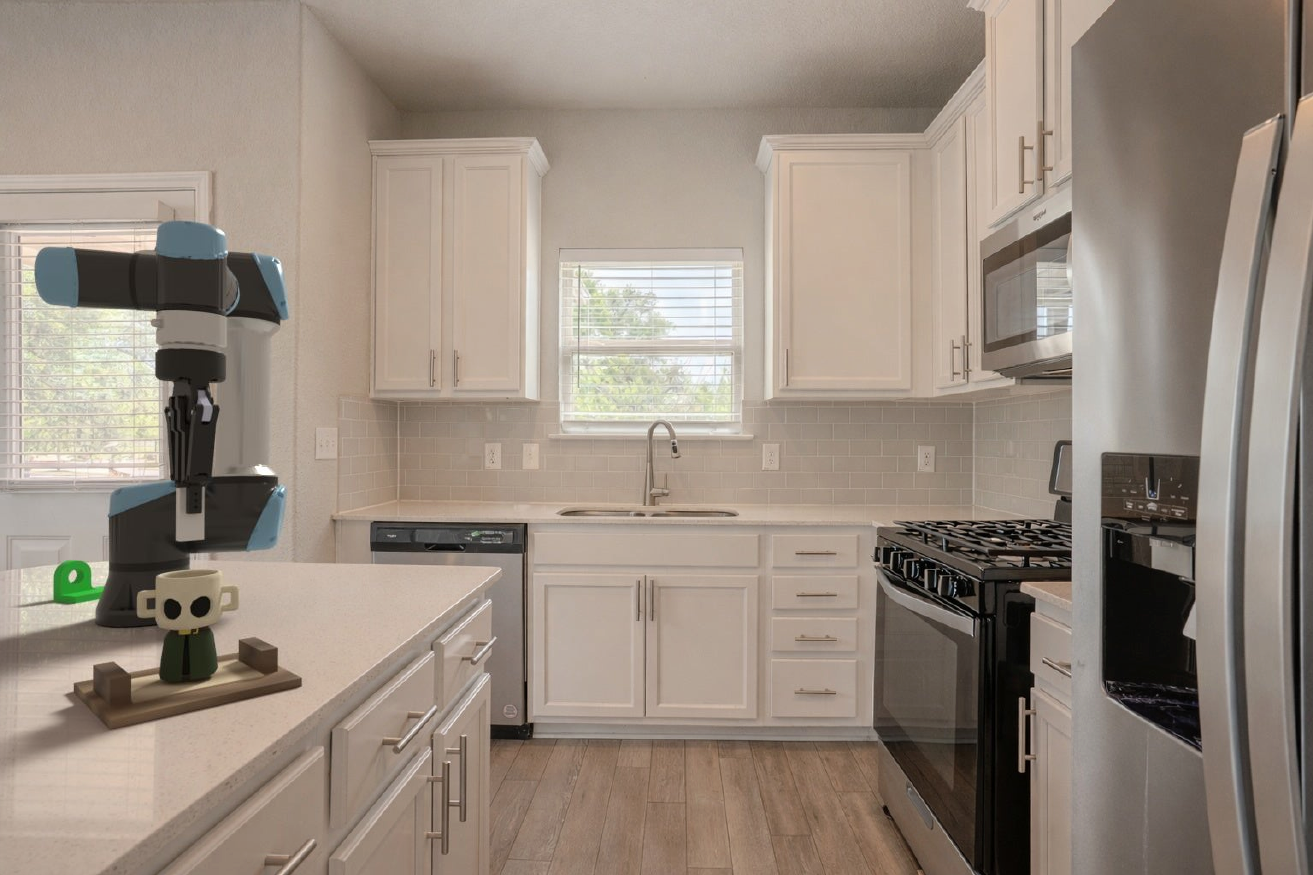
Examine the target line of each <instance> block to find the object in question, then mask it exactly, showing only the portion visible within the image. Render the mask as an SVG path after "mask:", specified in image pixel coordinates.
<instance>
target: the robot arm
mask: <svg viewBox="0 0 1313 875" xmlns="http://www.w3.org/2000/svg"><path fill="white" fill-rule="evenodd" d="M156 229H157V230H156V231H157V232H156V241H155V247H154V249H142V250H137V251H133V252H124V251H113V250H104V249H103V250H102V249H89V248H78V247H73V246H66V247H65V246H64V247H63V246H46V247H43V248H41V249H40V250H39V251H38V252H37V254H36V257H35V260H34V269H33V270H34V271H33V272H34V273H33V274H34V282H35V288H36V291H37V293H38V295H39V297H40V298H41V300H43V301H44V303H46V304H48V305H52V306H59V307H69V308H72V309H73V308H74V309H76V308H82V309H84V308H85V309H101V310H102V309H104V310H105V309H106V310H124V311H125V310H126V311H127V310H128V311H141V312H155V314H156V315H155V318H153V319H151V320H150V326H152V327H153V328H156V330H155V344H156V345H158V346H160V347H161V348H159V349H157V351H155V355H154V356H155V357H154V358H155V359H154V360H155V362H154V365H155V366H154V372H155V373H154V376H155V378H156V379H157V380H159V381H162V382H172V383H173V385H172V386H173V387H172V394H171V395H170V396H168V406H165V407H164V410H163V413H164V416H165V421H166V422H165V423H166V427H167V428H166V429H167V443H168V444H167V445H168V446H167V447H168V448H167V449H168V460H169V479H170V480H164V481H162V480H161V481H156V482H155V481H154V482H147V483H141V484H140V483H139V484H134V485H133V484H132V485H126V486H121V487H118V488H116V489H114V490H113V491H112V493H111V494H110V497H109V512H108V514H107V518H108V577H107V579H106V582H105V584H104V585H103V586H104V589H103V591H102V594H101V597H100V599H98V602H97V605H96V607H95V615H94V616H95V619H94V620H95V624H97V625H98V626H99V625H100V626H104V627H115V628H117V627H119V628H120V627H121V628H122V627H124V628H125V627H141V626H142V627H143V626H150V625H151V626H152V625H158V624H157V622H156V620H155V617H150V618H140V617H138V615H137V595H138V592H141V591H146V590H156V576H157V575H160V574H163V573H168V572H174V571H181V570H191V554H193V555H194V554H214V553H215V554H216V553H218V554H219V553H237V552H238V553H239V552H240V553H241V552H246V553H250V552H254V551H267V550H270V549H273V548H274V547H275V546H277V545H278V542H279V540H280V537H281V534H282V529H283V524H284V519H285V513H286V507H287V506H286V505H287V504H286V503H287V495H288V488H287V486H286V485H284V484H279V475H278V474H277V473H276V471H274V470H273V469H272V468H271V466H270V436H271V435H270V434H271V433H270V431H271V430H270V427H271V426H270V425H271V423H270V422H271V420H270V418H271V411H270V410H271V367H272V366H271V363H272V362H271V360H272V358H271V352H272V350H271V348H272V346H271V345H272V337H273V336H274V335H276V334H277V333H278V332H279V331H280V330H281V321H286V320H289V319H290V311H289V310H290V308H289V302H288V301H289V299H288V292H287V286H286V279H285V274H284V273H285V272H284V270H283V264H282V263H281V261H280V260H279V259H278V258H277V257H276V256H273V255H267V254H259V253H255V252H241V251H240V252H238V251H228V248H227V236H226V233H225V232H224V231H223V230H221V228H218V227H216V226H214V225H212V224H211V225H210V224H206V223H202V222H198V221H188V220H186V221H185V220H169V221H168V220H167V221H165V222H162V223H161V224H159V226H158V228H156ZM211 384H216V392H215V393H216V395H215V396H216V400H215V401H214V397H212V392H211ZM214 402H215V403H214ZM146 609H147V610H150V609H156V598H147V601H146Z"/></svg>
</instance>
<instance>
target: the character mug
mask: <svg viewBox="0 0 1313 875" xmlns="http://www.w3.org/2000/svg"><path fill="white" fill-rule="evenodd" d="M226 593H227V594H228V593H230V603H223V594H226ZM147 598H156V609H150V610H147V609H146V601H147ZM239 607H240V587H239V585H237V584H223V571H222V570H219V569H211V568H210V569H209V568H202V569H201V568H195V569H190V570H181V571H174V572H168V573H163V574H160V575H157V576H156V590H146V591H141V592H138V595H137V615H138V617H140V618H150V617H155V620H156V622H157V624H156V625H157V627H159V628H160V629H163V630H169V631H168V632H167V633H166V635H165V636H164V638H163V643H162V644H163V645H162V649H161V650H162V651H161V654H160V655H161V656H160V663H159V667H160V669H159V677H160V679H161V680H164V681H182V675H189V674H190V680H194V679H199V678H203V677H207V676H209V675H212V674H214V673H215V672H216V670H217V669H218V662H217V656H218V654H217V647H216V643H215V642H216V641H215V635H214V633H213V631H212V629H211V627H210V626H211V625H214V624H217V623H218V622H219V621H220V620H221V618H222V615H223V612H224V613H225V612H232V611H233V612H234V611H237V610H238V609H239Z"/></svg>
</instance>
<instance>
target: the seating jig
mask: <svg viewBox="0 0 1313 875" xmlns="http://www.w3.org/2000/svg"><path fill="white" fill-rule="evenodd" d="M217 662H218V669H217V670H216V672H215V673H214V674H212V675H209V676H207V677H203V678H199V679H194V680H190V674H189V675H182V681H164V680H161V679H160V677H159V669H160V666H159V667H157V666H156V667H153V668H146V669H142V670H137V671H131V672H128V671H127V670H125V669H124V668H123V667H121V666H120V665H119V664H117V663H116V662H115V661H109V662H102V663H96V664H93V665H92V666H93V669H92V671H93V675H92V676H93V678H92V679H88V680H82V681H77V682H73V692H74V693H75V694H76V696H78V697H79V698H80V699H81V700H82V701H83V703H84V705H85V704H86V705H87V707H88V708H89V709H90V710H91V711H92V712H93V713H94V714H95V715H96V716H97V718H98V719H100V721H102V723H103V724H104V725H106V727H108V729H109V730H112V729H117V728H122V727H126V726H130V725H135V724H139V723H144V722H147V721H153V720H157V719H162V718H166V717H171V716H175V715H179V714H183V713H189V712H192V711H196V710H201V709H206V708H210V707H215V706H218V705H219V706H220V705H223V704H227V703H231V702H236V701H241V700H246V699H249V698H253V697H259V696H263V695H267V694H271V693H276V692H280V691H285V690H288V689H294V688H298V687H299V688H300V687H302V686H303V677H301V676H300V675H297V674H295V673H294V672H292V671H290V670H287V669H286V668H284V667H282V666H279V648H278V647H277V646H274V645H273V644H270V643H269V642H266V641H264V640H262V639H260V638H258V637H256V636H253V637H252V636H251V637H247V638H241V639H238V652H235V653H234V652H233V653H229V654H223V655H217Z"/></svg>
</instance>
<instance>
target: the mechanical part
mask: <svg viewBox="0 0 1313 875" xmlns="http://www.w3.org/2000/svg"><path fill="white" fill-rule="evenodd" d="M73 571H75V572H76V576H75V579H74V580H73V581H70V579H69V578H70V577H69V576H70V574H71V573H72V572H73ZM104 586H105V585H101V586H95V587H93V586H92V569H91V567H90V565H89V564H88V563H87V562H85V561H83V560H76V559H75V560H74V559H69V560H66V561H63V562H61V563H60V564H59V565H58V566H57V567H56V568H55V570H54V573H53V594H52V596H53V600H52V601H53V602H59V603H65V604H66V603H67V604H76V603H77V604H81V603H86V602H87V603H88V602H91V601H97V600H99V599H100V597H101V594H102V591H103V589H104Z"/></svg>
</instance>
